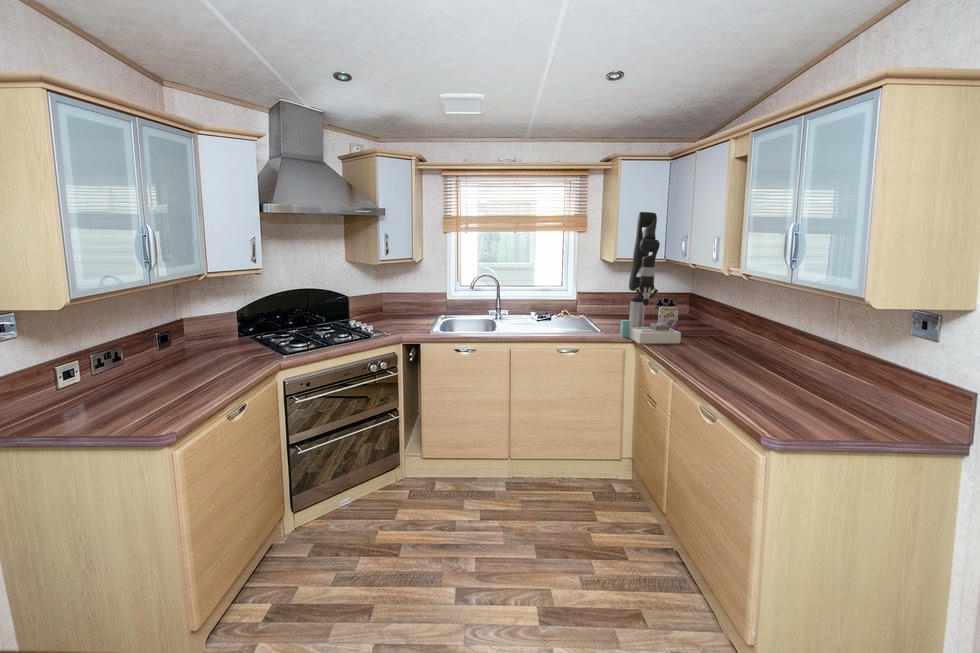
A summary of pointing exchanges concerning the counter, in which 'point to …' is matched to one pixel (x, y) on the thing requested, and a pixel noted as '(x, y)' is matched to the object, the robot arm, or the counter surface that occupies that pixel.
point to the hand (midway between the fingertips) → (645, 305)
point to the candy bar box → (669, 316)
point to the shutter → (659, 326)
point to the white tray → (654, 335)
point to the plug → (624, 328)
